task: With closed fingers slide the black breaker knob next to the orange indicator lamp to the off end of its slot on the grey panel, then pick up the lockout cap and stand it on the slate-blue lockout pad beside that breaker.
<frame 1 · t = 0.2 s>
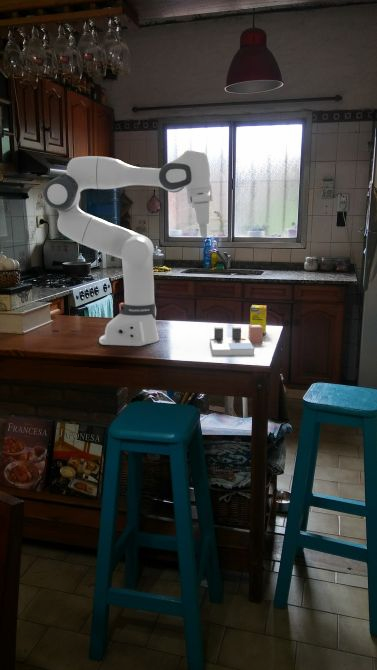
hand: (203, 236, 195), 38 cm above the kitchen island, tool pointing down, fingers open, 8 cm apart
lockout cap: (255, 342, 200), on the kitchen island
breaker B: (236, 333, 195), point 4 cm above the kitchen island, slide at 0.0 cm
supplement box: (257, 333, 214), on the kitchen island
panel: (231, 348, 190), on the kitchen island
breaker A: (218, 333, 195), point 4 cm above the kitchen island, slide at 0.0 cm, touching panel
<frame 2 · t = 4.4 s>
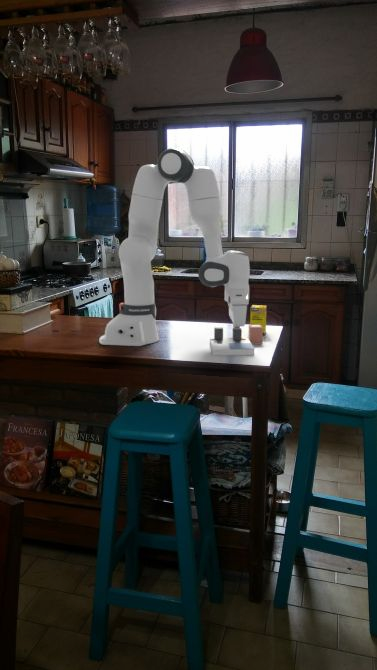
hand: (236, 333, 197), 4 cm above the kitchen island, tool pointing down, fingers closed
breaker B: (237, 334, 194), point 4 cm above the kitchen island, slide at 1.6 cm, touching gripper
everything else where it was.
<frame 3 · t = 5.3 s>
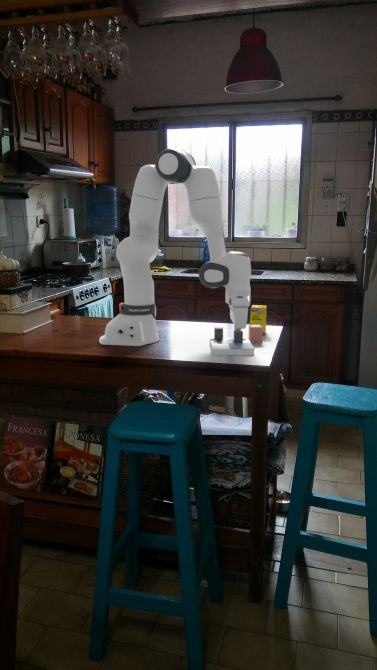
hand: (237, 335, 193), 4 cm above the kitchen island, tool pointing down, fingers closed
breaker B: (238, 336, 190), point 4 cm above the kitchen island, slide at 5.4 cm, touching gripper
everything else where it was.
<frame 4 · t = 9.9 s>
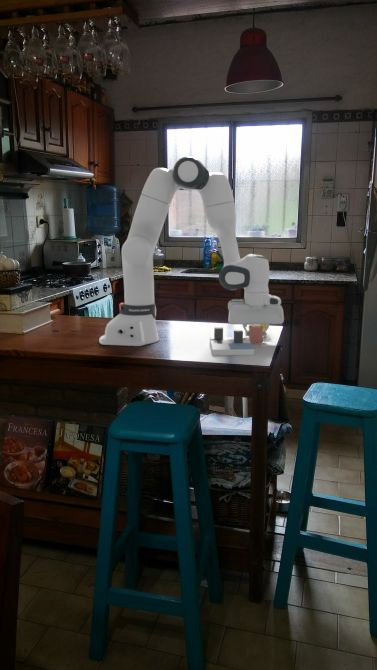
hand: (255, 335, 200), 2 cm above the kitchen island, tool pointing down, fingers closed on lockout cap, 4 cm apart
lockout cap: (255, 341, 200), on the kitchen island, touching gripper
breaker B: (238, 336, 190), point 4 cm above the kitchen island, slide at 5.5 cm
everything else where it was.
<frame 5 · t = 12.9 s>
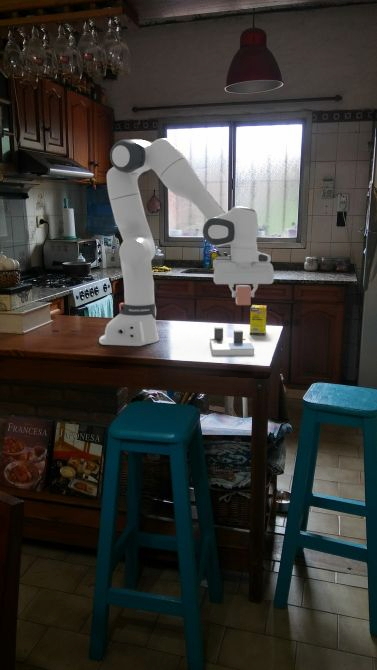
hand: (243, 297, 183), 19 cm above the kitchen island, tool pointing down, fingers closed on lockout cap, 4 cm apart
lockout cap: (243, 303, 183), point 17 cm above the kitchen island, touching gripper
everything else where it was.
when the fingers open (5 cm above the kitchen island, at t = 16.0 s): lockout cap stays where it is, resting on panel.
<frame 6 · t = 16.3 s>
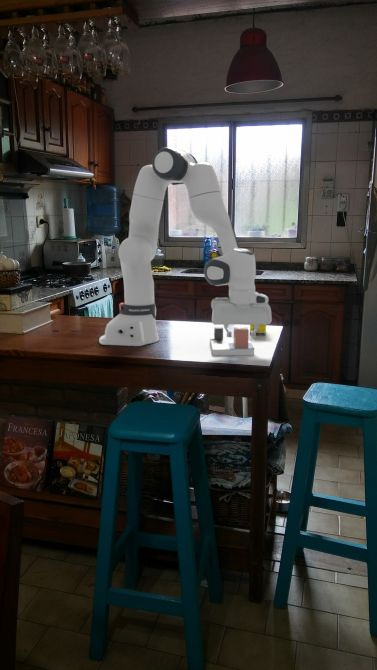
hand: (241, 336, 185), 5 cm above the kitchen island, tool pointing down, fingers open, 7 cm apart
lockout cap: (240, 345, 186), point 2 cm above the kitchen island, touching panel
everything else where it was.
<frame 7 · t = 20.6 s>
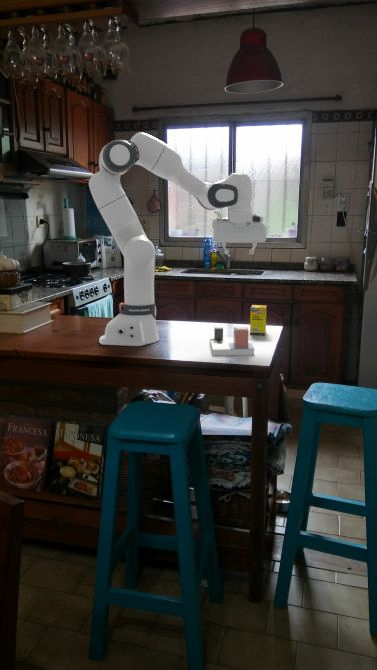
hand: (239, 254, 207), 31 cm above the kitchen island, tool pointing down, fingers open, 8 cm apart
nothing on the kitchen island moved.
at the end: breaker B slide at 5.5 cm; lockout cap inside the target area (0.1 cm from its centre), point 2.2 cm above the kitchen island; lockout cap tilted 0° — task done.
